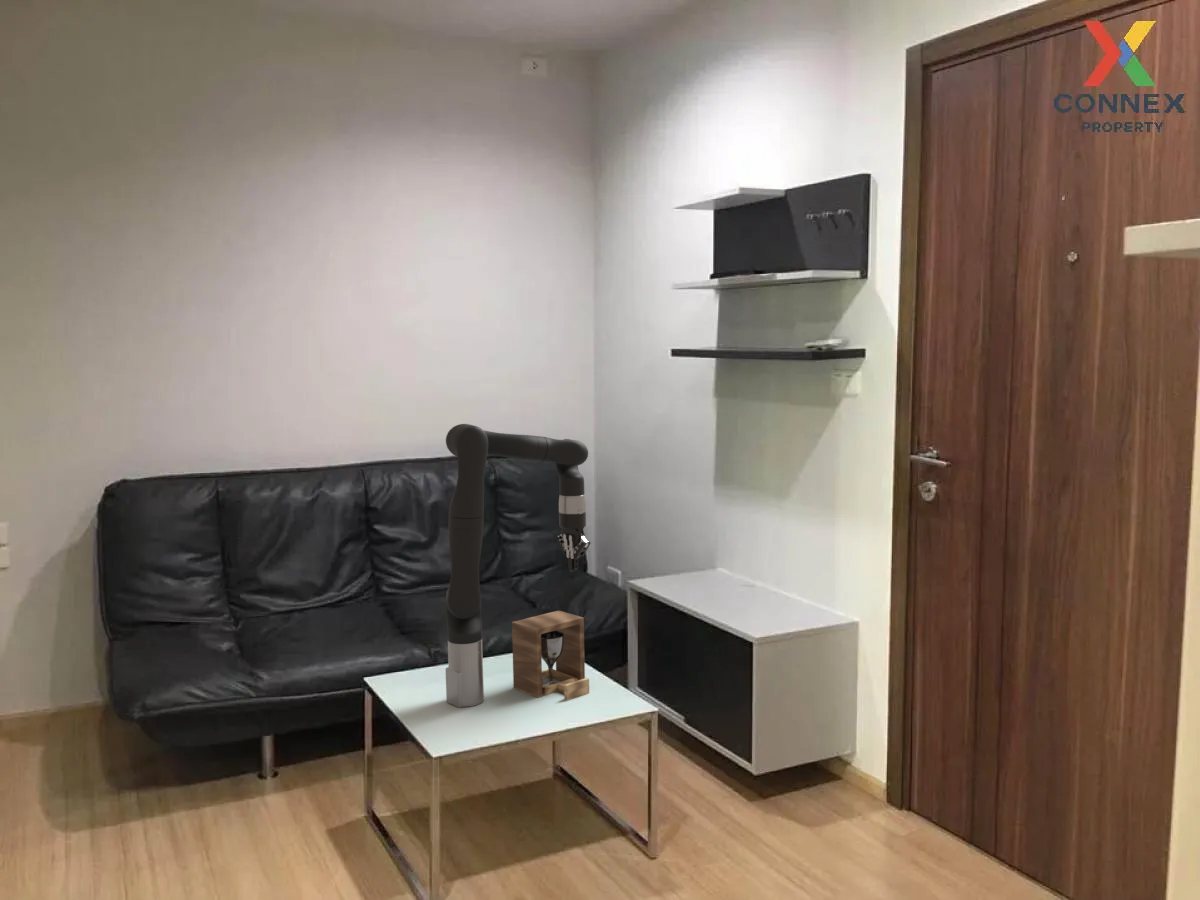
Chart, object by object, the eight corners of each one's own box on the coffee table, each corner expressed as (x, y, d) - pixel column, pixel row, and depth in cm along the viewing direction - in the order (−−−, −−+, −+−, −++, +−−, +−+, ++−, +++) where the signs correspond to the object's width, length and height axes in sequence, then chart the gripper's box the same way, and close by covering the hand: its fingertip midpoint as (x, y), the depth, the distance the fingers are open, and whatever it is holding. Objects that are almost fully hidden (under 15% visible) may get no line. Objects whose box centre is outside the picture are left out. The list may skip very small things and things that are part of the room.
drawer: (561, 701, 276) (561, 687, 275) (518, 684, 290) (517, 671, 290) (594, 691, 284) (594, 677, 283) (550, 674, 298) (550, 661, 297)
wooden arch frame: (538, 697, 279) (536, 629, 277) (513, 687, 287) (511, 621, 285) (584, 682, 291) (583, 617, 288) (560, 673, 299) (558, 610, 297)
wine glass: (561, 691, 284) (560, 639, 282) (533, 690, 285) (532, 637, 284) (567, 682, 292) (566, 630, 290) (540, 680, 293) (539, 629, 291)
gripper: (547, 509, 290) (548, 569, 292) (577, 514, 280) (578, 577, 282) (567, 506, 295) (568, 565, 297) (597, 511, 285) (598, 572, 287)
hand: (573, 570), depth 289 cm, fingers closed
